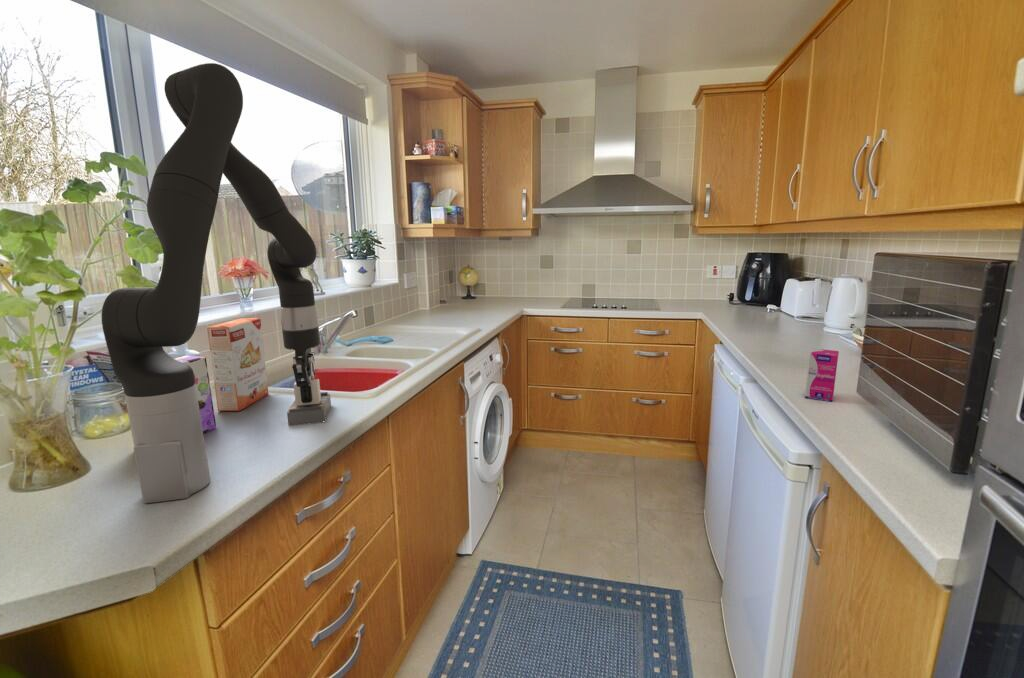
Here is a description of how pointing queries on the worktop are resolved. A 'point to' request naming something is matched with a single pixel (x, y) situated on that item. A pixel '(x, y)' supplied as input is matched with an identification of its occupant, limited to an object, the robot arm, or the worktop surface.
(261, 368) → the cracker box
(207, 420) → the candy box
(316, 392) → the fader tab
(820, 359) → the supplement box
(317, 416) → the fader console
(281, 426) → the worktop surface
